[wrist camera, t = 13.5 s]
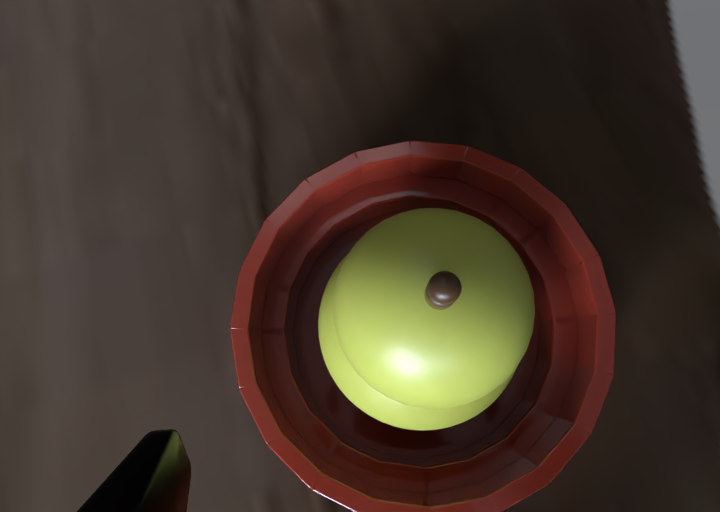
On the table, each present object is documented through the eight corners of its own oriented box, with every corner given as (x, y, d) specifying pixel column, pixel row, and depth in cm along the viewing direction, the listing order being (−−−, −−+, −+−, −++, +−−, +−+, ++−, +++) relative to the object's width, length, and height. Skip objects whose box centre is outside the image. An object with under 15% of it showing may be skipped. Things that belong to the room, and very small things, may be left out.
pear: (535, 364, 22) (723, 358, 9) (383, 453, 21) (374, 567, 9) (444, 218, 23) (507, 45, 11) (300, 299, 23) (193, 217, 10)
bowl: (634, 392, 22) (696, 398, 17) (354, 556, 21) (345, 605, 17) (467, 132, 24) (484, 79, 20) (211, 273, 24) (169, 251, 19)
